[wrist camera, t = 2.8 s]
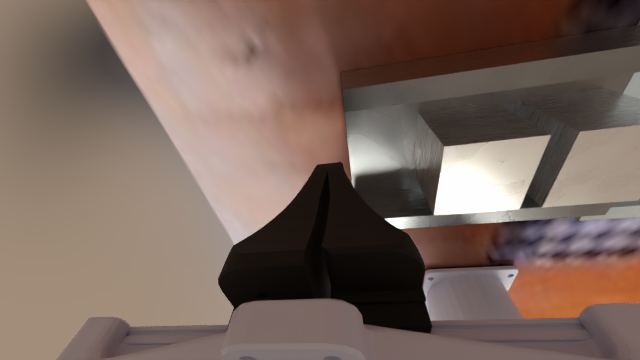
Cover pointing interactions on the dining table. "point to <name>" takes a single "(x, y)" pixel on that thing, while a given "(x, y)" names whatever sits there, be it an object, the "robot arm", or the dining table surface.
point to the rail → (466, 90)
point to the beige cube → (586, 147)
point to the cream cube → (476, 158)
